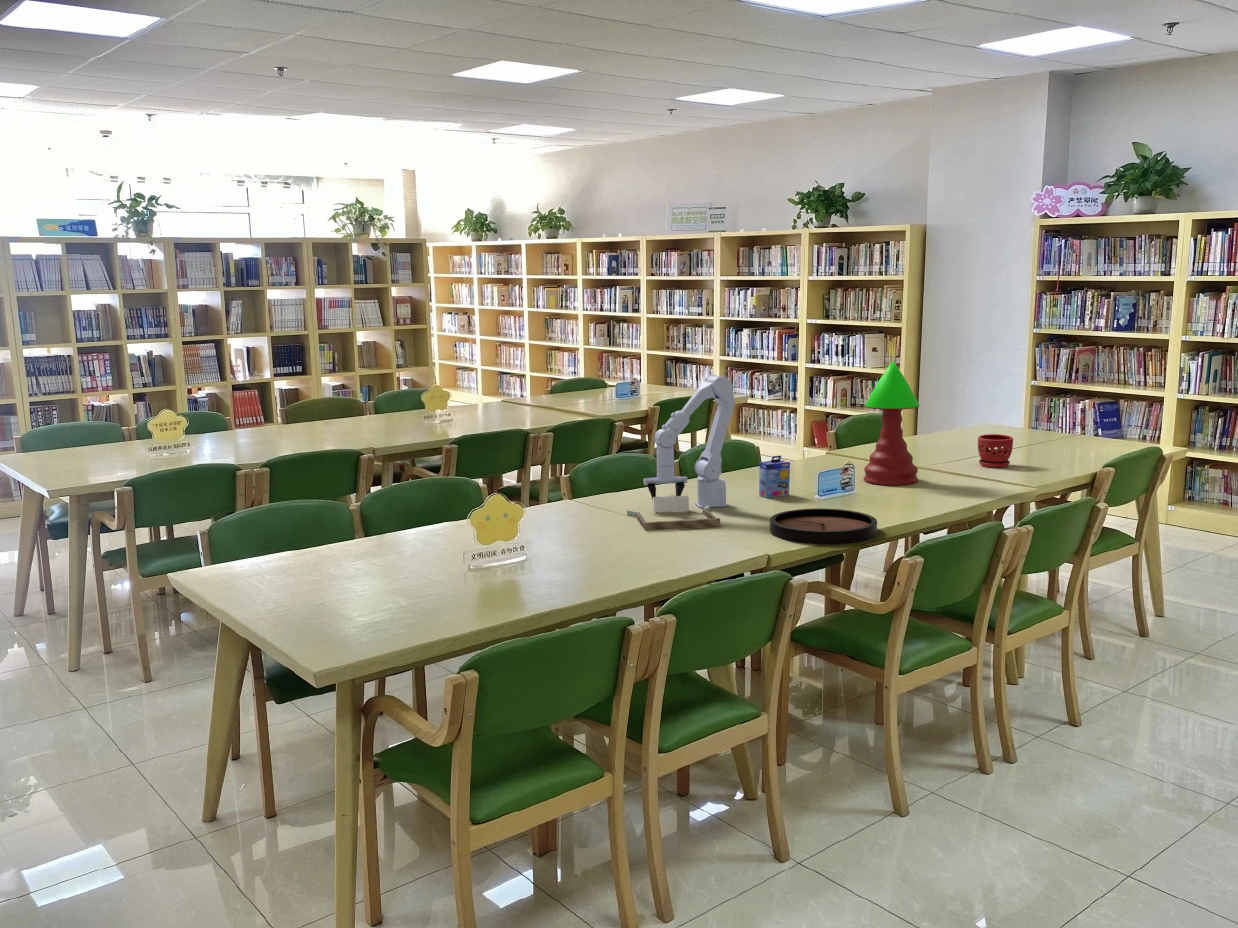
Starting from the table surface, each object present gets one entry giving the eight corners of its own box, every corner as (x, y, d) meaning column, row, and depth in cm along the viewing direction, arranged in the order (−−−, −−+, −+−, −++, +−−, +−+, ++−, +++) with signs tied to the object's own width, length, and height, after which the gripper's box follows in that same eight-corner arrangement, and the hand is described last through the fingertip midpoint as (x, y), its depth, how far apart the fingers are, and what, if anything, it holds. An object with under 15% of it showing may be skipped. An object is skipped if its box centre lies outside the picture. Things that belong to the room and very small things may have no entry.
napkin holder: (644, 514, 333) (643, 497, 332) (660, 507, 343) (660, 491, 342) (684, 518, 326) (684, 501, 325) (700, 511, 335) (700, 494, 334)
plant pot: (969, 465, 404) (970, 435, 402) (994, 462, 410) (995, 433, 408) (994, 470, 393) (995, 439, 391) (1019, 467, 398) (1020, 437, 396)
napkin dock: (710, 509, 335) (710, 502, 335) (727, 526, 311) (727, 518, 311) (626, 514, 332) (626, 506, 331) (637, 531, 308) (637, 523, 308)
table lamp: (924, 485, 366) (927, 361, 359) (869, 486, 367) (871, 362, 359) (910, 475, 386) (913, 357, 378) (858, 476, 386) (860, 359, 379)
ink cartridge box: (766, 498, 351) (766, 457, 349) (758, 495, 356) (758, 455, 354) (790, 495, 355) (790, 455, 353) (781, 492, 360) (781, 452, 358)
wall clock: (898, 524, 292) (804, 536, 281) (898, 538, 293) (804, 550, 282) (839, 504, 321) (751, 514, 310) (838, 517, 322) (751, 527, 311)
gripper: (684, 462, 341) (685, 501, 343) (642, 464, 339) (642, 503, 341) (688, 465, 334) (689, 505, 336) (645, 467, 332) (646, 507, 334)
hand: (666, 504), depth 338 cm, fingers open, 7 cm apart
